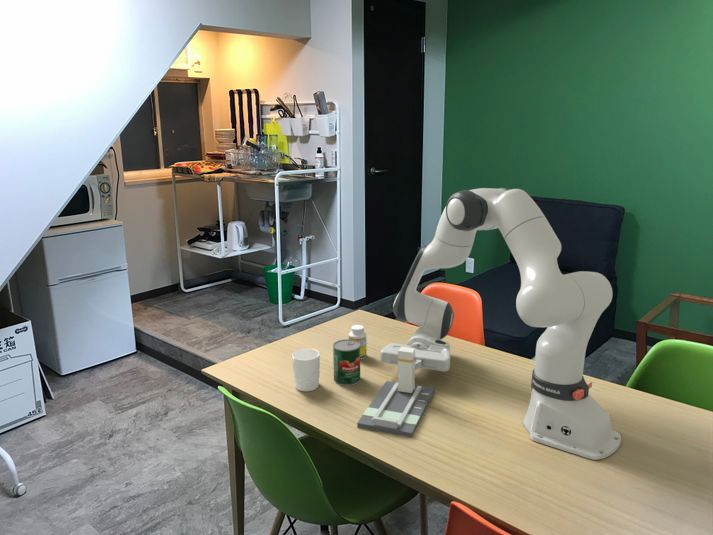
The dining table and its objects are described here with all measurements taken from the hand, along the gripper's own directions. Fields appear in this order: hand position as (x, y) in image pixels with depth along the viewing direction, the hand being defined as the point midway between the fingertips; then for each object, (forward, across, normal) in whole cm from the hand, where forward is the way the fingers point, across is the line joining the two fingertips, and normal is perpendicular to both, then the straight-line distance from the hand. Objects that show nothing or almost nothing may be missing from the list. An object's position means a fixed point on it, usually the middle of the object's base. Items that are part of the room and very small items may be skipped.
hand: (408, 368), depth 160 cm
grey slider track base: (+10, 0, +7) cm, 12 cm away
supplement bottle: (-17, -21, +7) cm, 28 cm away
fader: (+2, 0, +5) cm, 6 cm away
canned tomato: (-1, -19, +7) cm, 20 cm away
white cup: (+6, -28, +7) cm, 30 cm away
